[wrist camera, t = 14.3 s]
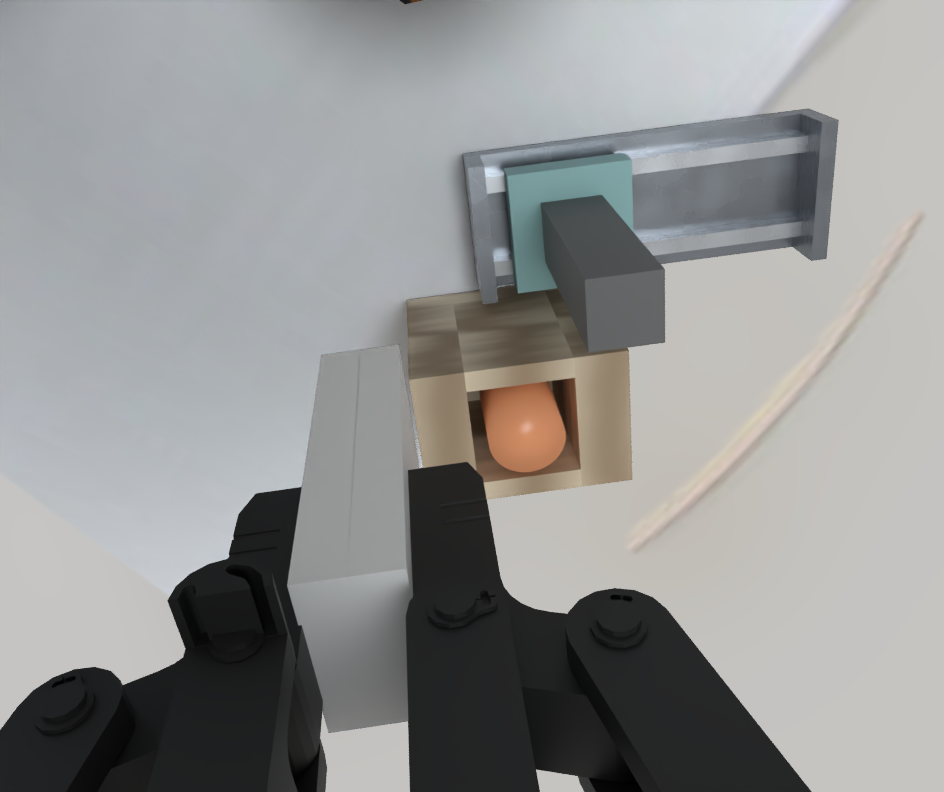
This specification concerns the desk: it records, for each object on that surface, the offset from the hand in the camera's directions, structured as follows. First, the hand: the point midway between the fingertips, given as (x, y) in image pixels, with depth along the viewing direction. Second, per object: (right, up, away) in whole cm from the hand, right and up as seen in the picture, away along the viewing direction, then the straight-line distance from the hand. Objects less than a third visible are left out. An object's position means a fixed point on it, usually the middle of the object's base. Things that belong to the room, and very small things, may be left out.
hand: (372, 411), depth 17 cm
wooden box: (+4, +3, +32) cm, 32 cm away
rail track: (+11, +11, +29) cm, 32 cm away
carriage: (+7, +9, +27) cm, 29 cm away
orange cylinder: (+4, +2, +30) cm, 30 cm away
